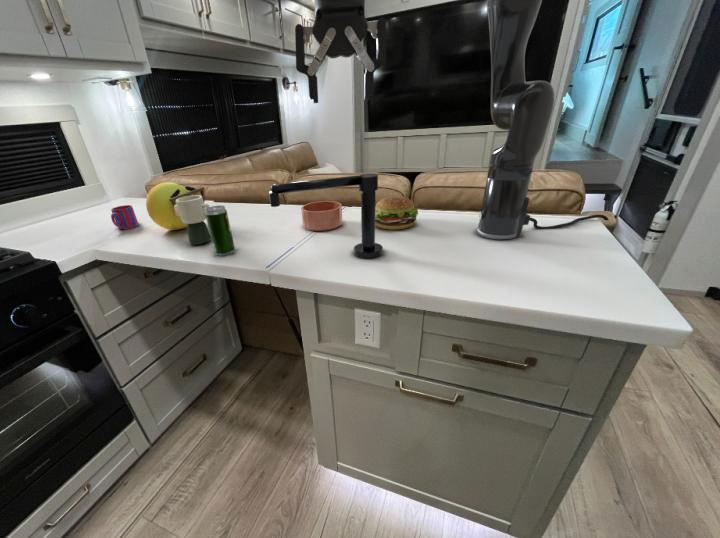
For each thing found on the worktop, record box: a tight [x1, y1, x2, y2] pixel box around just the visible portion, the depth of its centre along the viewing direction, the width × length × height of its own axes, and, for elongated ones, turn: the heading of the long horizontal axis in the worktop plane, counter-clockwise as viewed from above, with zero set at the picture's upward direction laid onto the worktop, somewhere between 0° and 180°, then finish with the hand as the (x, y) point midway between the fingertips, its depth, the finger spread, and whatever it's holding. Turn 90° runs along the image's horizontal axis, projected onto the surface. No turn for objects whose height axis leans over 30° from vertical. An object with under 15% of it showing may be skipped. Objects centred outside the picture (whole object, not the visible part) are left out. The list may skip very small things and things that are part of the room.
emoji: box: [145, 181, 206, 231], centre depth 108 cm, size 16×16×15 cm
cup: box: [110, 204, 140, 230], centre depth 116 cm, size 7×10×7 cm
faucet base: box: [353, 191, 384, 260], centre depth 77 cm, size 7×7×15 cm
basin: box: [300, 200, 343, 232], centre depth 101 cm, size 12×12×6 cm
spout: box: [268, 173, 379, 208], centre depth 72 cm, size 24×4×4 cm, turn 98°
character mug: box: [174, 195, 212, 245], centre depth 94 cm, size 11×7×13 cm, turn 79°
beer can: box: [205, 204, 236, 257], centre depth 86 cm, size 5×5×12 cm
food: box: [375, 195, 419, 231], centre depth 97 cm, size 14×14×8 cm
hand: (341, 101), depth 56 cm, fingers open, 8 cm apart
